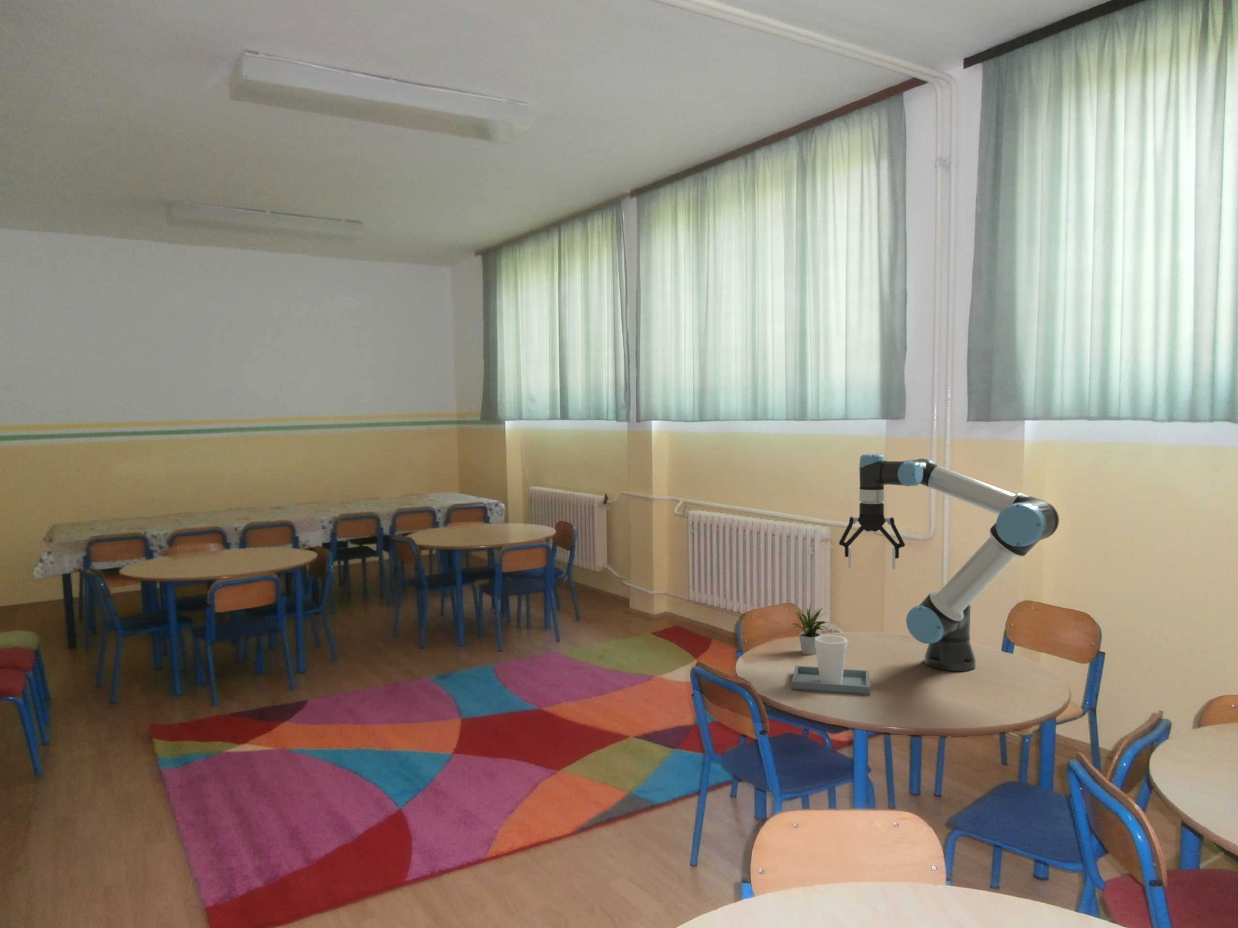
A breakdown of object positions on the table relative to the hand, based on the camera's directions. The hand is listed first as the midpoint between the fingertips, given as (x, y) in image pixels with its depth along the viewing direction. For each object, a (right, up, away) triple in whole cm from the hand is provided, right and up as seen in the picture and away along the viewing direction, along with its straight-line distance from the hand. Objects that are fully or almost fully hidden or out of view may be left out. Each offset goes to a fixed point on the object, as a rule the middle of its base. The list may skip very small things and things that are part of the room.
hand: (871, 567), depth 269 cm
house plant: (-18, -31, +12) cm, 38 cm away
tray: (-18, -32, -20) cm, 42 cm away
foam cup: (-18, -32, -20) cm, 42 cm away
